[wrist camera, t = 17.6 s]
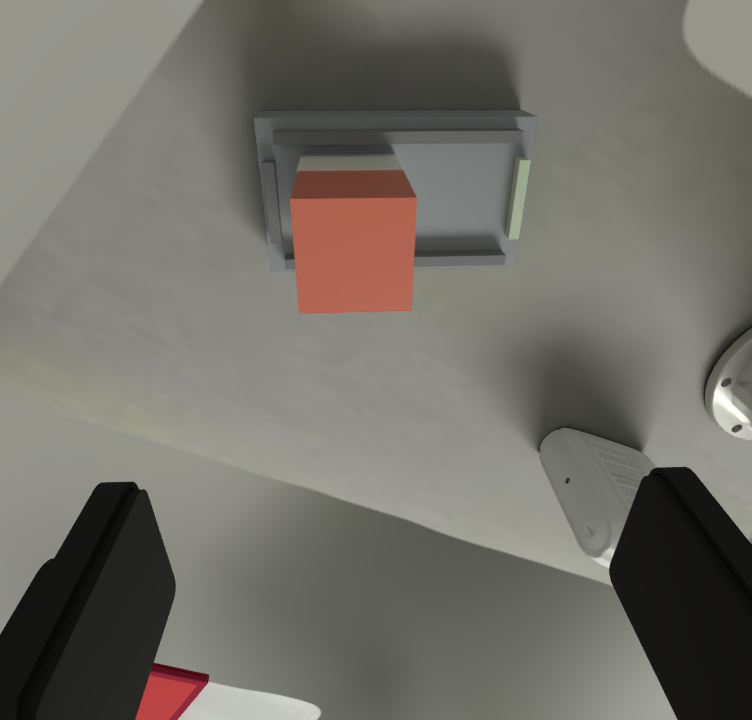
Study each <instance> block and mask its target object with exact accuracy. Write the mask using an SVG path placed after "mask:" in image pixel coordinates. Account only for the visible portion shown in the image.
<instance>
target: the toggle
mask: <svg viewBox="0 0 752 720" xmlns="http://www.w3.org/2000/svg"><path fill="white" fill-rule="evenodd" d="M330 170H402V167H401V165H400V163H399V161H398V159H397V157H396V155H395V153H302V154H301V158H300V161H299V164H298V167H297V172H298V171H330Z"/></svg>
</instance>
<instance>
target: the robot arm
mask: <svg viewBox="0 0 752 720" xmlns="http://www.w3.org/2000/svg"><path fill="white" fill-rule="evenodd" d="M705 404H706V408H707V412H708V414H709V415H710V417H711V418H712V420H713V421H714V422H715V423H716V424H717V425H718V426H719V427H720V428H721V429H722V430H723V431H725V432H726V433H727V434H729V435H731V436H734V437H737V438H740V439H746V440H752V328H751V329H750V330H748V331H747V332H746V333H744V334H743V335H742V336H741V337H740V338H738V339H737V340H736V341H735V342H734V343H733V344H732V345H731V346H730V347H729V348H728V349H727V350H726V351H725V353H724V354H723V355H722V356H721V358H720V359H719V361H718V362H717V364H716V365H715V367H714V368H713V371H712V373H711V375H710V377H709V379H708V382H707V386H706V390H705ZM609 573H610V579H611V582H612V585H613V587H614V589H615V591H616V593H617V595H618V597H619V599H620V601H621V603H622V605H623V608H624V610H625V611H626V614H627V616H628V618H629V620H630V622H631V624H632V626H633V628H634V630H635V632H636V634H637V637H638V638H639V641H640V643H641V645H642V647H643V649H644V651H645V653H646V655H647V657H648V659H649V661H650V663H651V665H652V667H653V670H654V672H655V674H656V676H657V678H658V680H659V682H660V684H661V686H662V688H663V690H664V693H665V695H666V697H667V699H668V701H669V703H670V705H671V707H672V709H673V711H674V713H675V715H676V717H677V719H678V720H752V544H751V543H750V542H749V541H748V539H747V538H746V537H745V536H744V534H743V533H742V532H741V531H740V529H739V528H738V527H737V526H736V524H735V523H734V522H733V521H732V519H731V518H730V517H729V516H728V514H727V513H726V512H725V511H724V509H723V508H722V507H721V506H720V504H719V503H718V502H717V501H716V499H715V498H714V497H713V496H712V494H711V493H710V492H709V491H708V489H707V488H706V487H705V486H704V484H703V483H702V482H701V481H700V479H699V478H698V477H697V476H696V474H695V473H694V472H693V471H692V470H691V469H689V468H687V467H666V468H654V469H652V470H651V471H650V473H649V475H648V476H644V477H643V478H642V480H641V482H640V485H639V487H638V490H637V493H636V495H635V498H634V501H633V503H632V506H631V509H630V511H629V514H628V517H627V520H626V522H625V525H624V528H623V530H622V533H621V536H620V538H619V541H618V544H617V546H616V549H615V552H614V554H613V557H612V560H611V562H610V566H609ZM175 587H176V584H175V578H174V574H173V572H172V568H171V565H170V562H169V559H168V556H167V553H166V550H165V546H164V543H163V540H162V537H161V534H160V531H159V528H158V524H157V522H156V518H155V515H154V512H153V509H152V506H151V503H150V499H149V497H148V493H147V492H146V490H144V489H143V490H139V488H138V486H137V484H136V483H134V482H106V483H100V484H98V485H97V486H96V488H95V489H94V490H93V492H92V494H91V496H90V497H89V499H88V501H87V503H86V505H85V506H84V508H83V510H82V511H81V513H80V515H79V517H78V518H77V520H76V522H75V523H74V525H73V527H72V529H71V530H70V532H69V534H68V536H67V537H66V539H65V541H64V543H63V544H62V546H61V548H60V549H59V551H58V553H57V555H56V556H55V558H53V559H50V560H49V561H47V562H46V563H45V564H43V566H42V567H41V568H40V570H39V571H38V572H37V574H36V575H35V577H34V579H33V581H32V582H31V584H30V586H29V587H28V589H27V591H26V592H25V594H24V596H23V597H22V599H21V601H20V602H19V604H18V606H17V607H16V609H15V611H14V612H13V614H12V616H11V617H10V619H9V621H8V622H7V624H6V626H5V627H4V629H3V631H2V633H1V634H0V720H135V719H136V716H137V713H138V710H139V707H140V703H141V700H142V697H143V694H144V691H145V688H146V685H147V682H148V678H149V675H150V672H151V669H152V666H153V663H154V660H155V656H156V653H157V650H158V647H159V644H160V641H161V638H162V635H163V632H164V628H165V625H166V622H167V619H168V616H169V613H170V610H171V607H172V603H173V600H174V596H175Z"/></svg>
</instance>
